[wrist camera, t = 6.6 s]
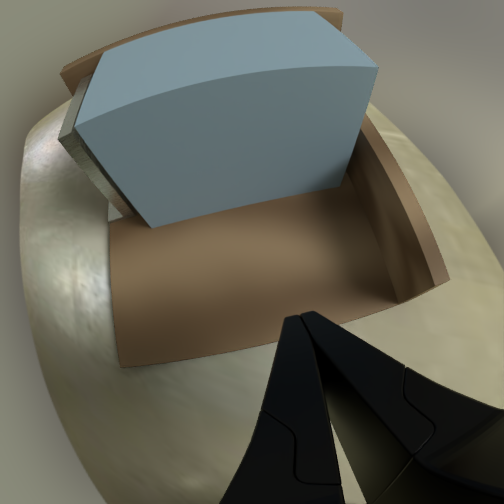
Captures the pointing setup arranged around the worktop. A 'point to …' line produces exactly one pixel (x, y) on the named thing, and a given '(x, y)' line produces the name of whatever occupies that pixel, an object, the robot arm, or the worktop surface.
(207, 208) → the light blue block
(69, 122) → the bookend
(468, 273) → the worktop surface
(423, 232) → the shelf
